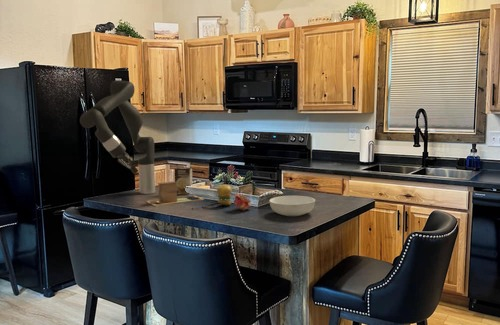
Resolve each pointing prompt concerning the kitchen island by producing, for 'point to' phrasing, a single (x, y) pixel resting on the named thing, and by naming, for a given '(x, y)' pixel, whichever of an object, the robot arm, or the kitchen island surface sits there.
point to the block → (167, 192)
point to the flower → (241, 202)
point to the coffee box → (183, 178)
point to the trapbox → (179, 200)
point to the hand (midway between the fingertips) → (136, 172)
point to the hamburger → (224, 194)
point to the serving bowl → (292, 205)
